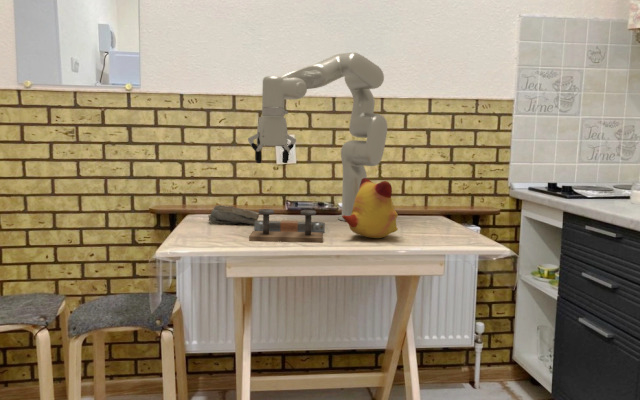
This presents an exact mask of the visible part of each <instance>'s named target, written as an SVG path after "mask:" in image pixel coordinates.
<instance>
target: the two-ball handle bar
mask: <svg viewBox="0 0 640 400" xmlns="http://www.w3.org/2000/svg"><path fill="white" fill-rule="evenodd" d="M325 225H326V223H325V222H324V221H323V222H322V221H311V232H320V233H323V234H325V233H326V232H325V228H326V227H325ZM253 231H263V219H261V220H257V221H254V225H253ZM269 231H276V232H305V221H299V220H269Z"/></svg>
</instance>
